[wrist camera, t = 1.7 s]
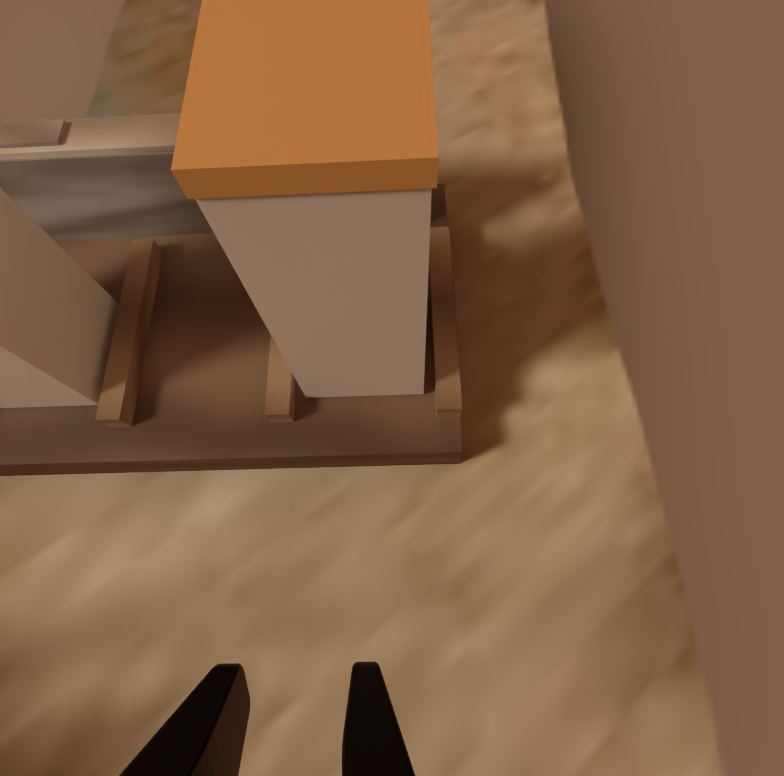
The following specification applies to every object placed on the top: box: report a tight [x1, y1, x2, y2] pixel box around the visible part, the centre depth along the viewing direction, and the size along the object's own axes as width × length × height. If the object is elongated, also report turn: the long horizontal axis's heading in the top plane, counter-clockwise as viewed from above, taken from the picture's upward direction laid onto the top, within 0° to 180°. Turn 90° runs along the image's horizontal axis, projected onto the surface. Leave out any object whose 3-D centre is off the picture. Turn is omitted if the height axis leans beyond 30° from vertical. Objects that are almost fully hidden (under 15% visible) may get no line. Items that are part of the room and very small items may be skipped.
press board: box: [0, 113, 463, 476], centre depth 22 cm, size 14×22×8 cm, turn 91°
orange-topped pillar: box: [171, 0, 439, 398], centre depth 17 cm, size 5×5×13 cm
